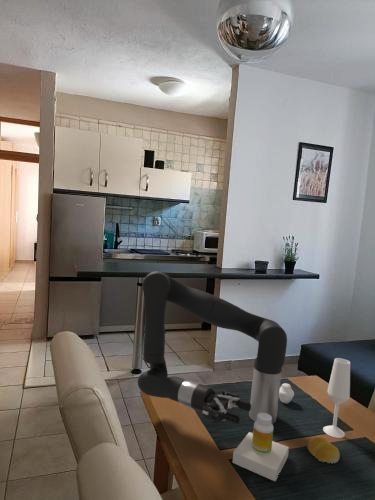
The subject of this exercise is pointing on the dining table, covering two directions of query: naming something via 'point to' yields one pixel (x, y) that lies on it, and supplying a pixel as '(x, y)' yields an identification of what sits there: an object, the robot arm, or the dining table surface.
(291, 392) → the white lumpy ovoid
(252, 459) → the stack of napkins
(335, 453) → the bread roll
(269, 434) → the supplement bottle
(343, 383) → the champagne flute
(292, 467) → the dining table surface
